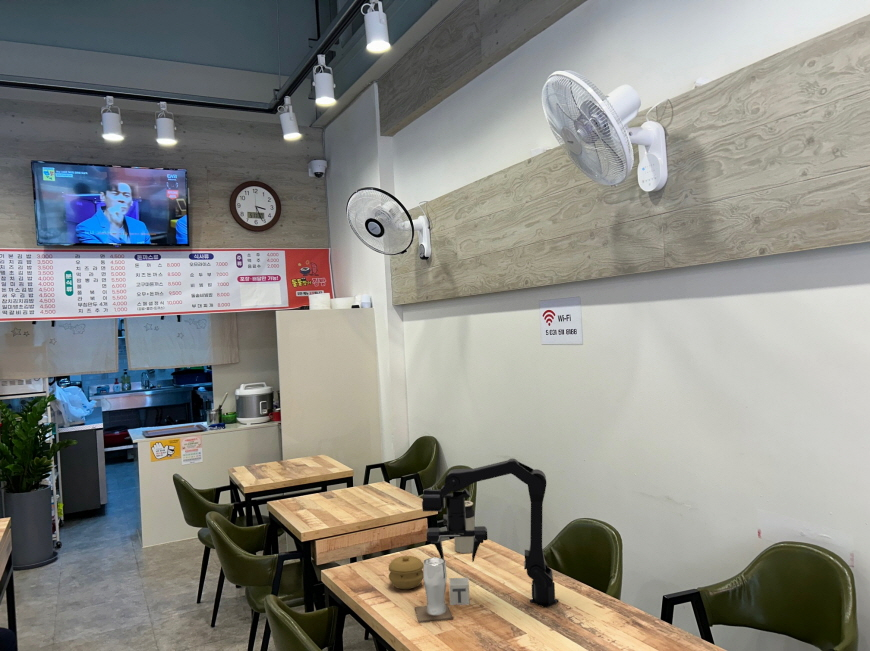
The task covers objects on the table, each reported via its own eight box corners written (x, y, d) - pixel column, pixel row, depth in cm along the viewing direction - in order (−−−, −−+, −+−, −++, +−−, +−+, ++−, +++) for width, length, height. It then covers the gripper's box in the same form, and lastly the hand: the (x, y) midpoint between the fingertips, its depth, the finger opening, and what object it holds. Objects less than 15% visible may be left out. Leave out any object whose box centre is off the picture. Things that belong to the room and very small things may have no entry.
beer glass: (447, 617, 188) (445, 565, 188) (423, 617, 188) (421, 565, 189) (448, 607, 195) (446, 557, 195) (425, 607, 195) (423, 557, 196)
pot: (384, 592, 210) (383, 561, 210) (395, 578, 222) (394, 549, 222) (419, 594, 207) (418, 562, 208) (428, 580, 219) (427, 550, 219)
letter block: (469, 605, 197) (468, 585, 198) (449, 605, 198) (449, 585, 198) (469, 596, 204) (468, 577, 204) (450, 597, 204) (449, 578, 204)
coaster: (447, 605, 198) (447, 603, 198) (453, 619, 188) (453, 617, 188) (414, 608, 196) (414, 606, 196) (418, 622, 186) (418, 620, 186)
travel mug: (479, 550, 247) (477, 503, 247) (462, 555, 243) (460, 506, 243) (468, 545, 254) (466, 499, 254) (451, 549, 250) (449, 502, 250)
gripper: (485, 503, 209) (487, 552, 209) (427, 505, 210) (429, 553, 210) (486, 513, 198) (488, 564, 198) (425, 514, 199) (427, 566, 198)
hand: (458, 561), depth 201 cm, fingers open, 9 cm apart
